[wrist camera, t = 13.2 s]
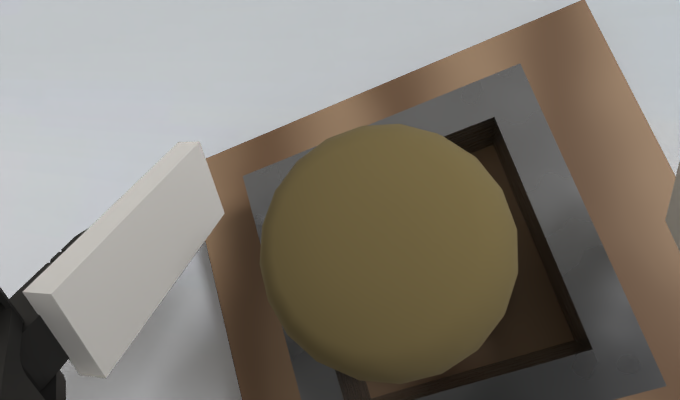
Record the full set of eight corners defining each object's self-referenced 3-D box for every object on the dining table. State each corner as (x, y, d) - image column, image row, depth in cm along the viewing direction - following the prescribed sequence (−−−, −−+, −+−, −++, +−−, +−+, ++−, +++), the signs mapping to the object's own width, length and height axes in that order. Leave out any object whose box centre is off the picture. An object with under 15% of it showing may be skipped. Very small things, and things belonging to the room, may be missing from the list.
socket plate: (578, 15, 20) (602, -56, 16) (783, 419, 16) (884, 461, 12) (202, 172, 24) (143, 146, 20) (288, 535, 20) (236, 598, 16)
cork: (467, 385, 18) (443, 508, 8) (328, 301, 20) (157, 307, 10) (543, 237, 18) (622, 159, 8) (398, 168, 20) (306, 33, 10)
